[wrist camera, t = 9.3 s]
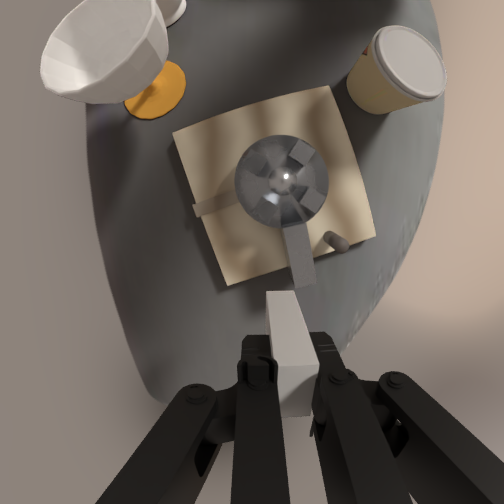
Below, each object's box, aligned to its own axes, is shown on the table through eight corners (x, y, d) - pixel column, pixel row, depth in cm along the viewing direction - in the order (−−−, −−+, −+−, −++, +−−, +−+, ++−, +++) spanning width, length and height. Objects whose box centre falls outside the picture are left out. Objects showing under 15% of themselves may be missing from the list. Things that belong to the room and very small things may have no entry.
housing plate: (324, 90, 30) (340, 70, 23) (370, 236, 34) (395, 248, 27) (173, 137, 31) (154, 126, 24) (226, 284, 36) (220, 307, 29)
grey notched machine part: (227, 149, 29) (222, 143, 25) (311, 132, 29) (321, 123, 24) (258, 280, 33) (259, 296, 28) (337, 261, 33) (350, 274, 28)
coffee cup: (381, 57, 28) (421, 22, 16) (409, 112, 30) (461, 94, 18) (328, 67, 29) (358, 25, 17) (359, 127, 31) (404, 106, 19)
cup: (138, 48, 28) (81, -11, 11) (210, 62, 29) (182, -15, 12) (103, 118, 30) (22, 91, 14) (174, 139, 31) (109, 105, 15)
